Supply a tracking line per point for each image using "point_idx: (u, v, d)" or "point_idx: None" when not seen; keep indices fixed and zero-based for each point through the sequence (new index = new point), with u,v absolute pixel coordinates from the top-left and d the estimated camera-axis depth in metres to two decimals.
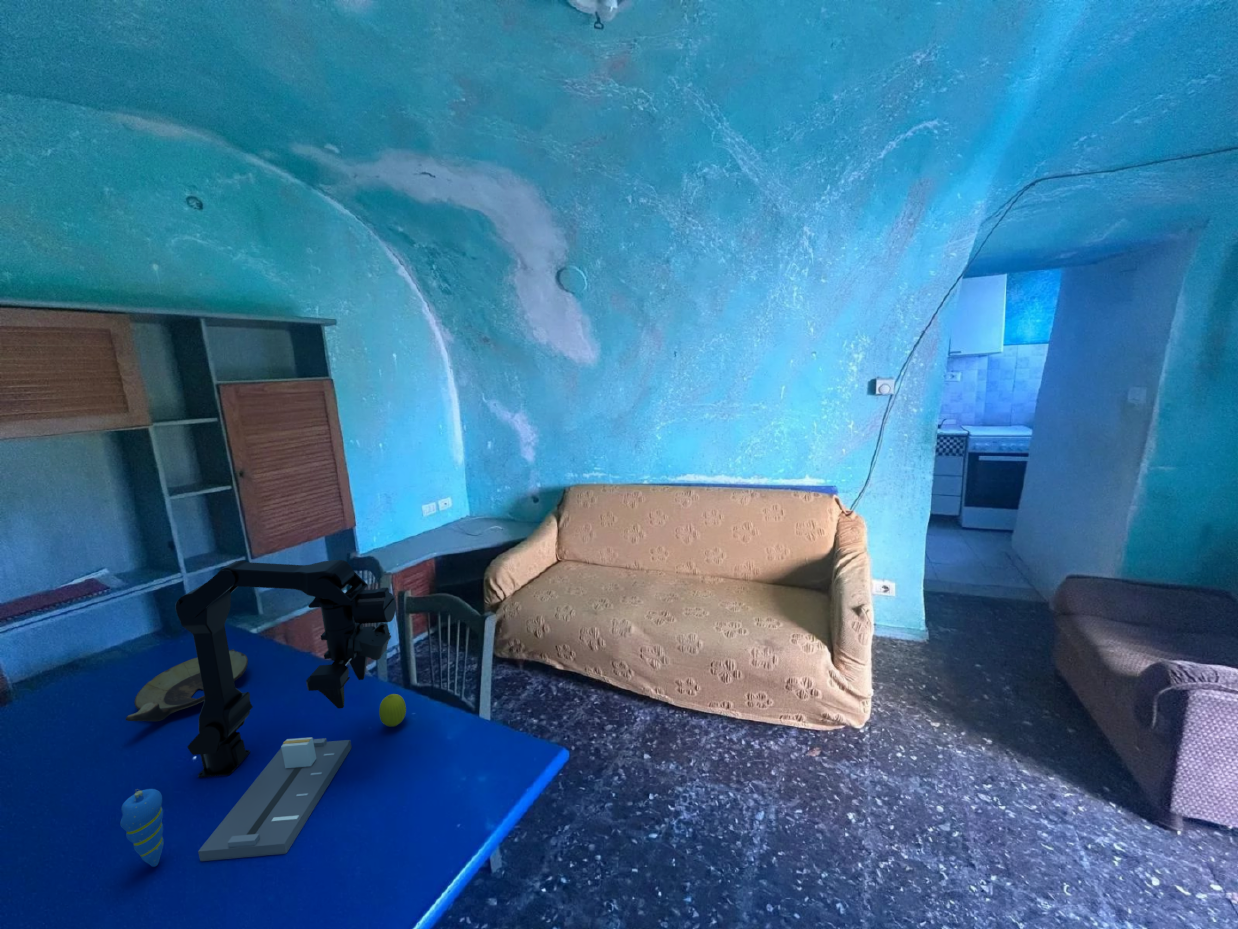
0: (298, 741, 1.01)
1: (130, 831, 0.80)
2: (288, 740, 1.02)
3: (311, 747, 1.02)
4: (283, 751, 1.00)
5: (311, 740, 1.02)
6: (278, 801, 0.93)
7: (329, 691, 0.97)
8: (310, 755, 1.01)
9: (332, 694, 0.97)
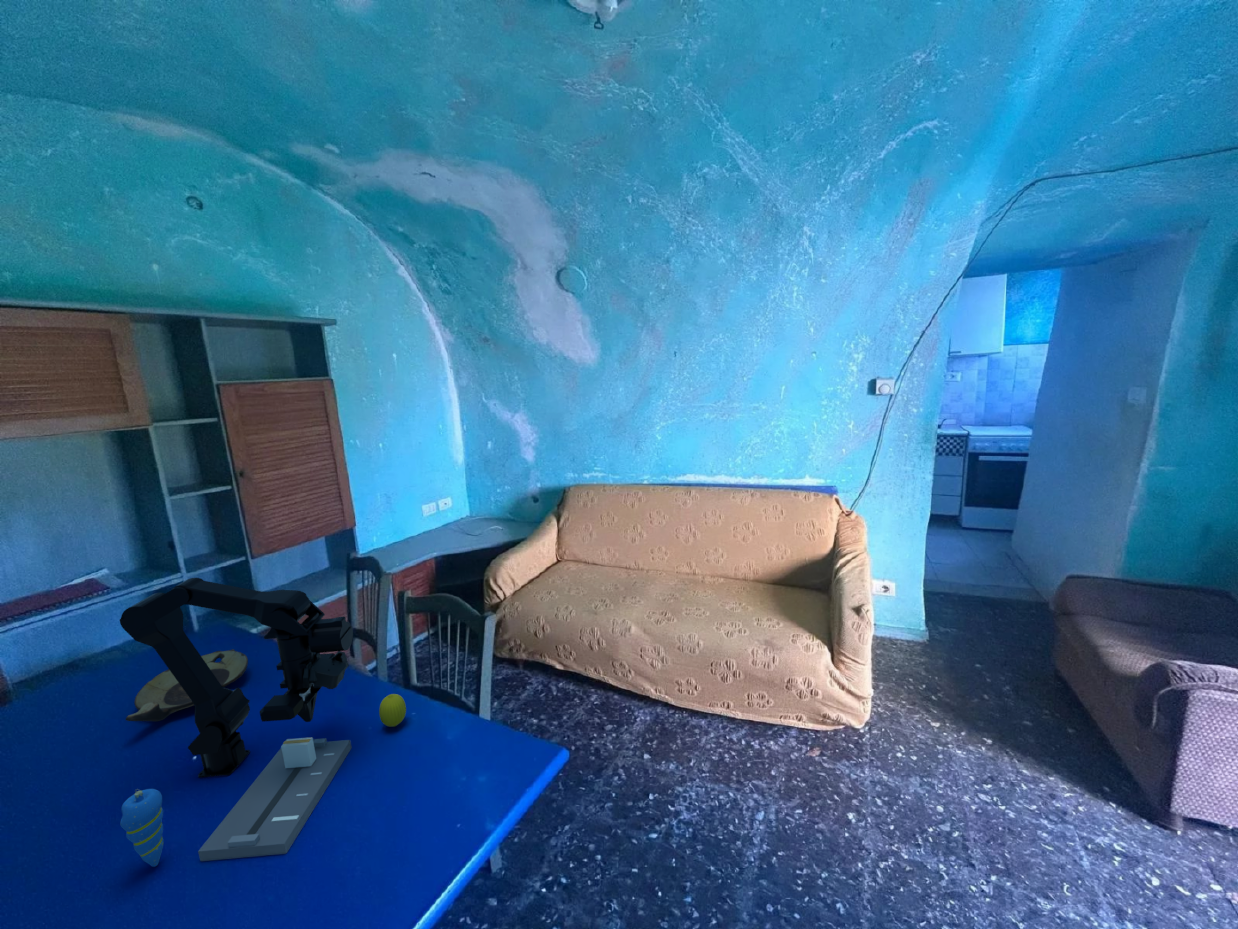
0: (298, 741, 1.01)
1: (130, 831, 0.80)
2: (288, 740, 1.02)
3: (311, 747, 1.02)
4: (283, 751, 1.00)
5: (311, 740, 1.02)
6: (278, 801, 0.93)
7: None
8: (310, 755, 1.01)
9: None
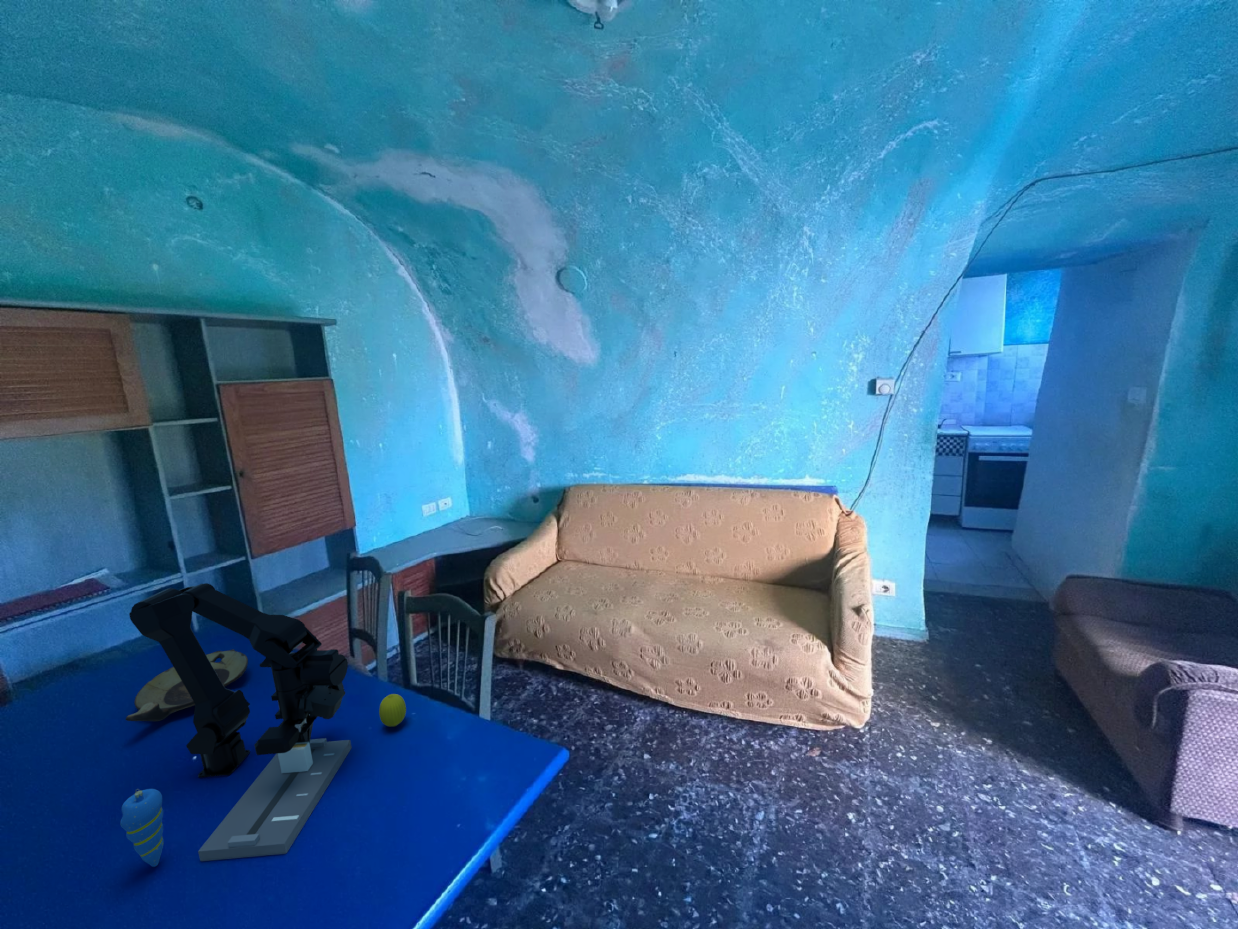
0: (294, 746, 1.00)
1: (130, 831, 0.80)
2: None
3: (308, 752, 1.00)
4: (279, 756, 0.99)
5: (308, 745, 1.00)
6: (278, 801, 0.93)
7: None
8: (306, 760, 1.00)
9: None
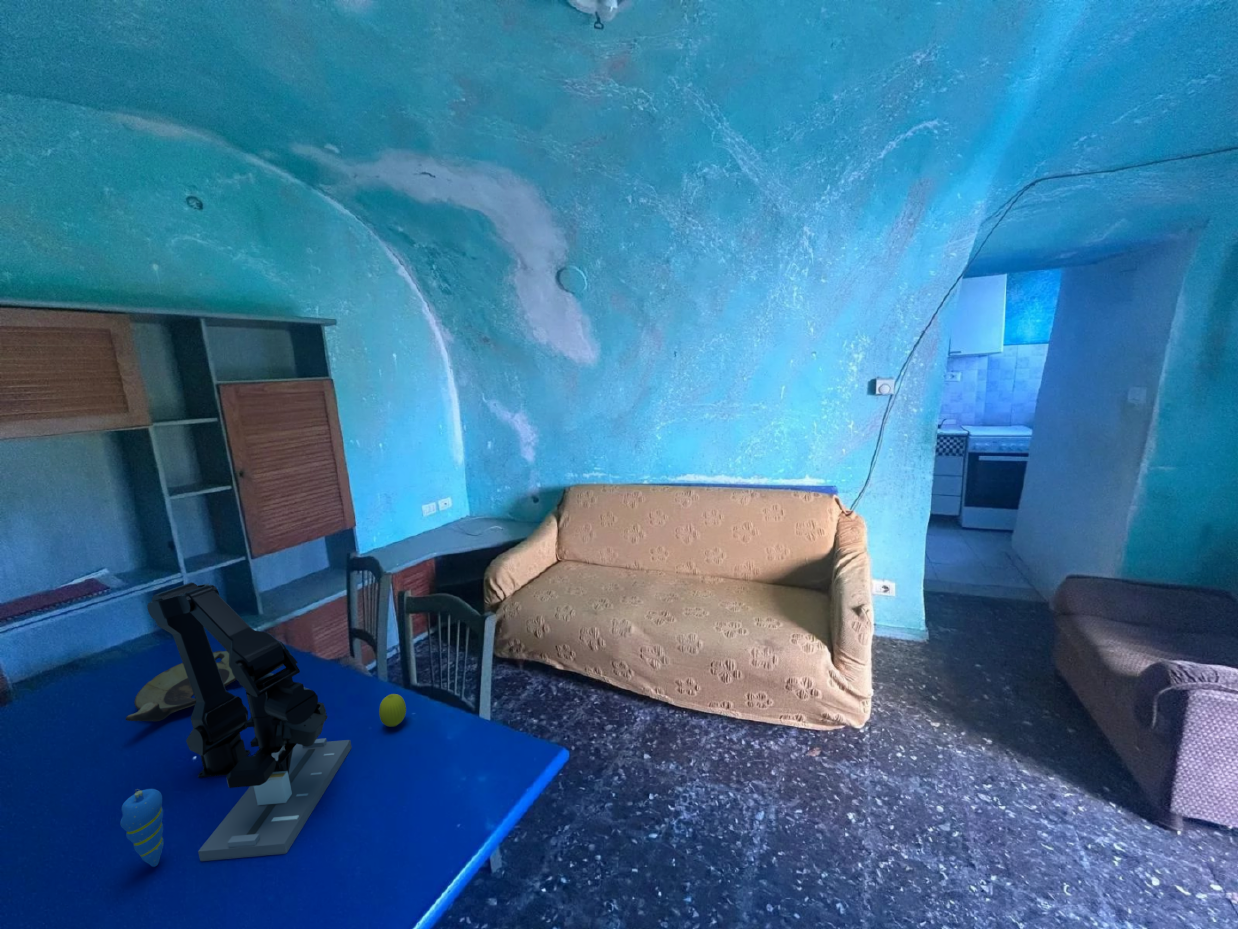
0: (271, 775, 0.92)
1: (130, 831, 0.80)
2: None
3: (286, 782, 0.93)
4: (255, 787, 0.92)
5: (286, 774, 0.93)
6: None
7: None
8: (284, 791, 0.92)
9: None
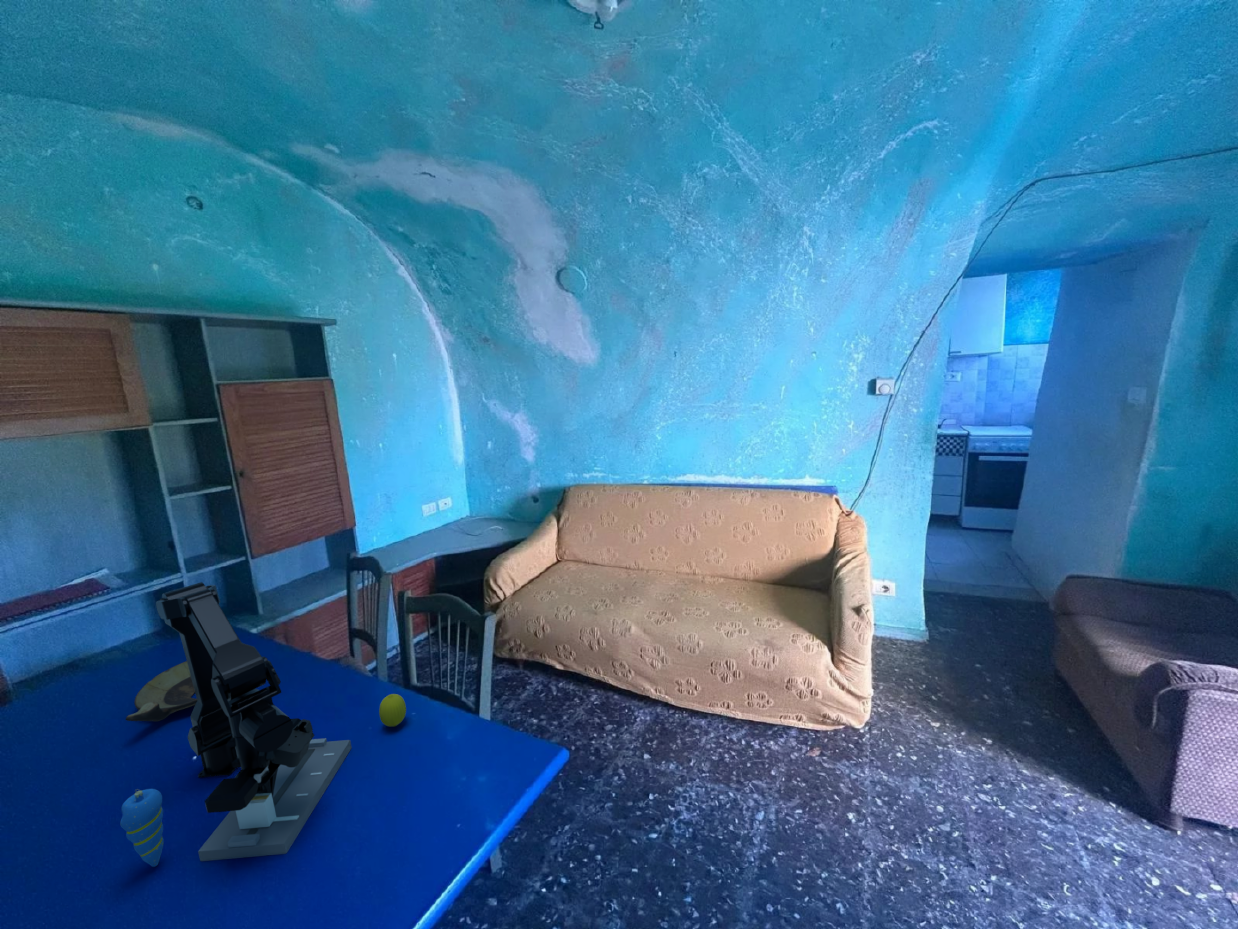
0: (254, 798, 0.88)
1: (130, 831, 0.80)
2: None
3: (270, 804, 0.88)
4: (237, 810, 0.87)
5: (270, 796, 0.88)
6: (278, 801, 0.93)
7: None
8: (267, 814, 0.88)
9: (256, 789, 0.89)
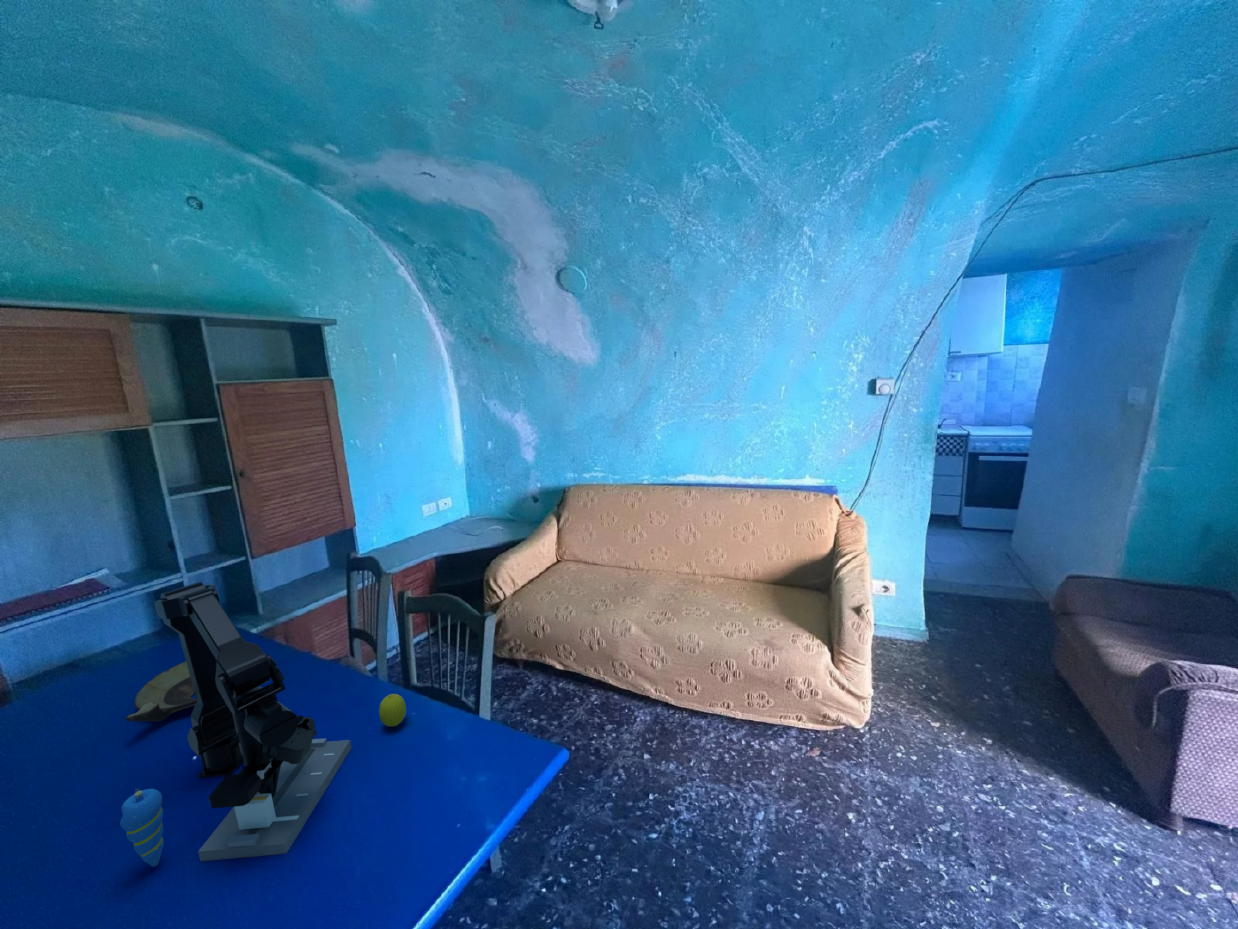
0: (254, 798, 0.87)
1: (130, 831, 0.80)
2: None
3: (269, 805, 0.88)
4: (236, 810, 0.87)
5: (269, 797, 0.88)
6: (278, 801, 0.93)
7: None
8: (267, 815, 0.88)
9: (259, 785, 0.90)
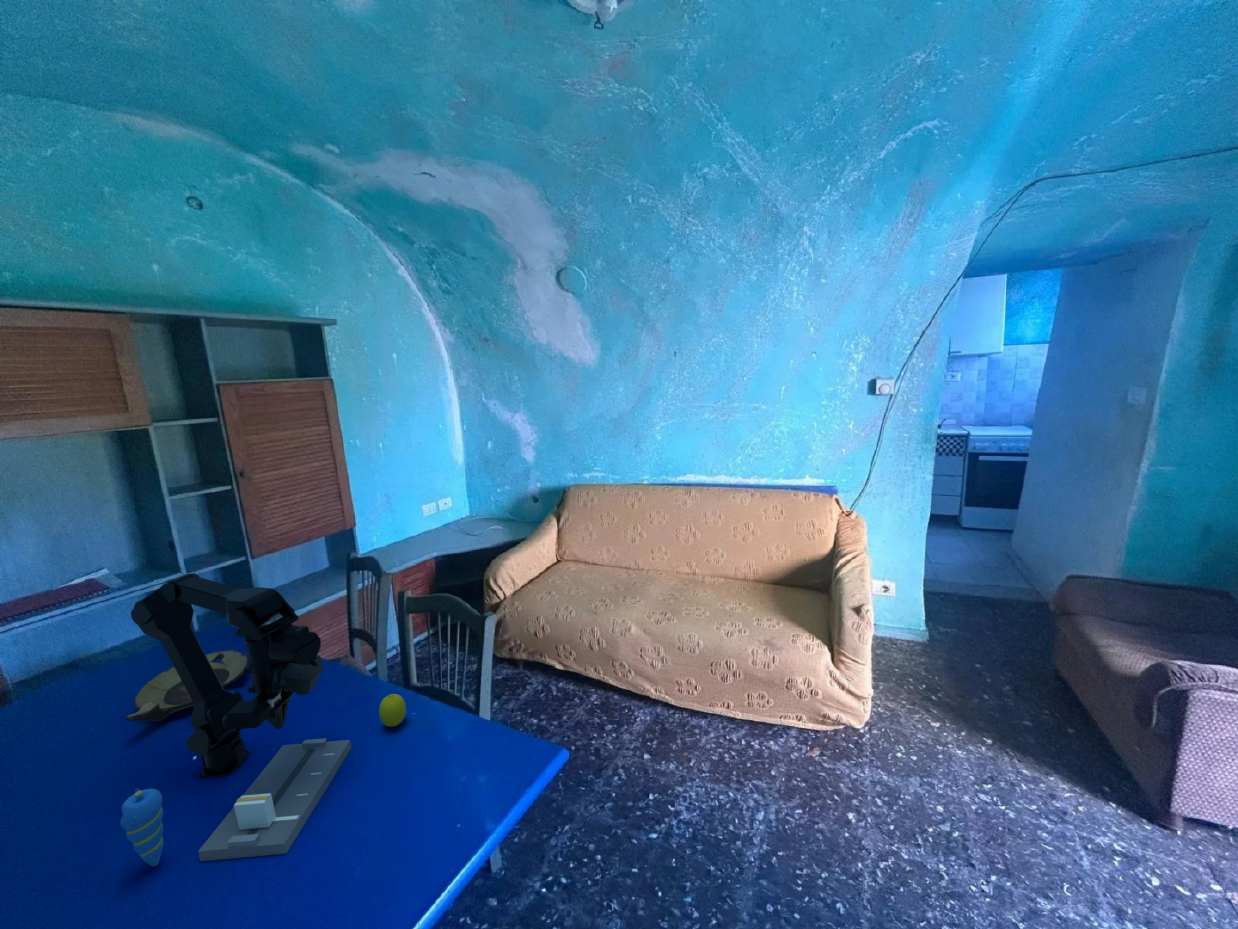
0: (254, 798, 0.87)
1: (130, 831, 0.80)
2: (243, 796, 0.88)
3: (269, 805, 0.88)
4: (236, 810, 0.87)
5: (269, 797, 0.88)
6: (278, 801, 0.93)
7: None
8: (267, 815, 0.88)
9: (269, 715, 0.96)
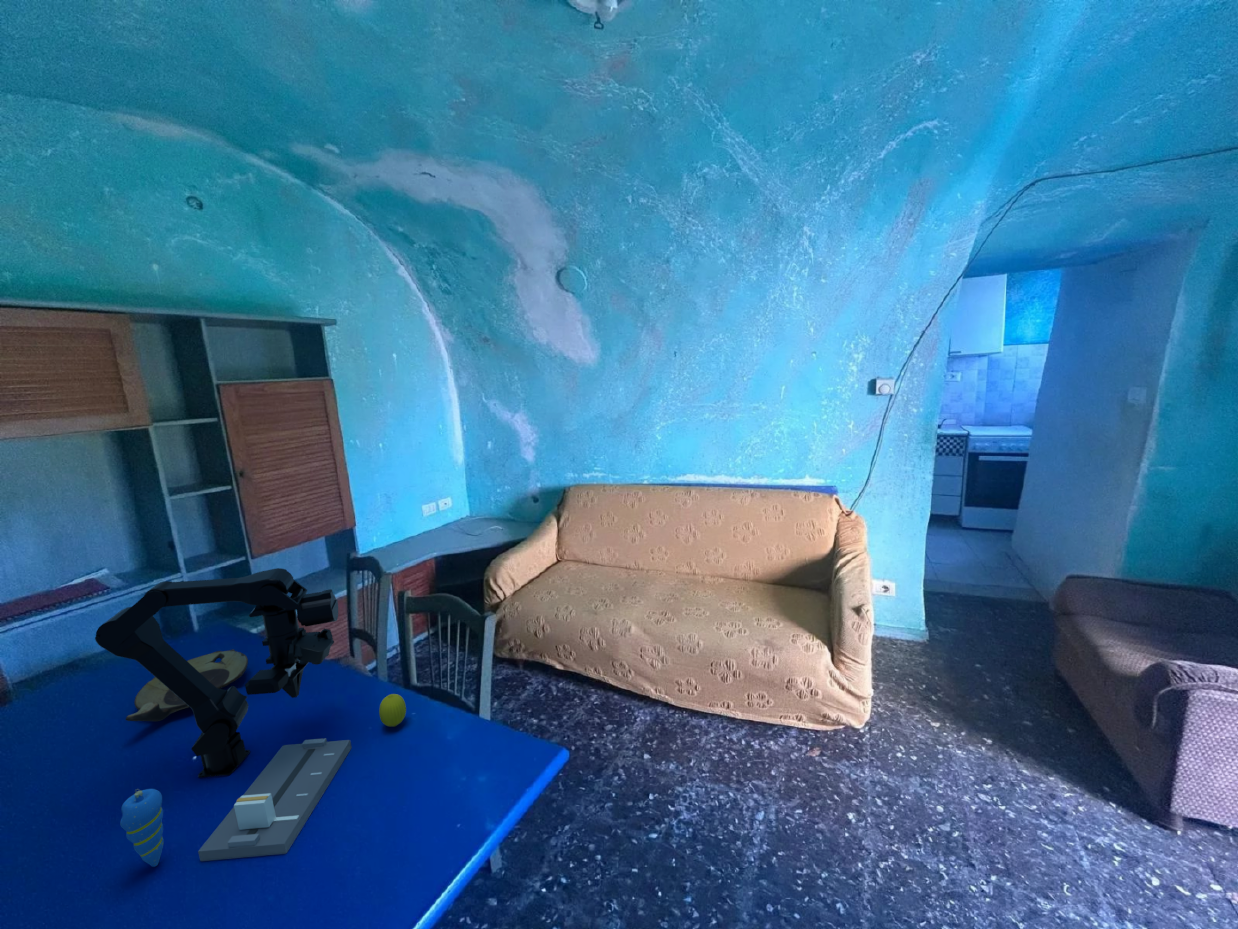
0: (254, 798, 0.87)
1: (130, 831, 0.80)
2: (243, 796, 0.88)
3: (269, 805, 0.88)
4: (236, 810, 0.87)
5: (269, 797, 0.88)
6: (278, 801, 0.93)
7: None
8: (267, 815, 0.88)
9: (285, 684, 1.05)
